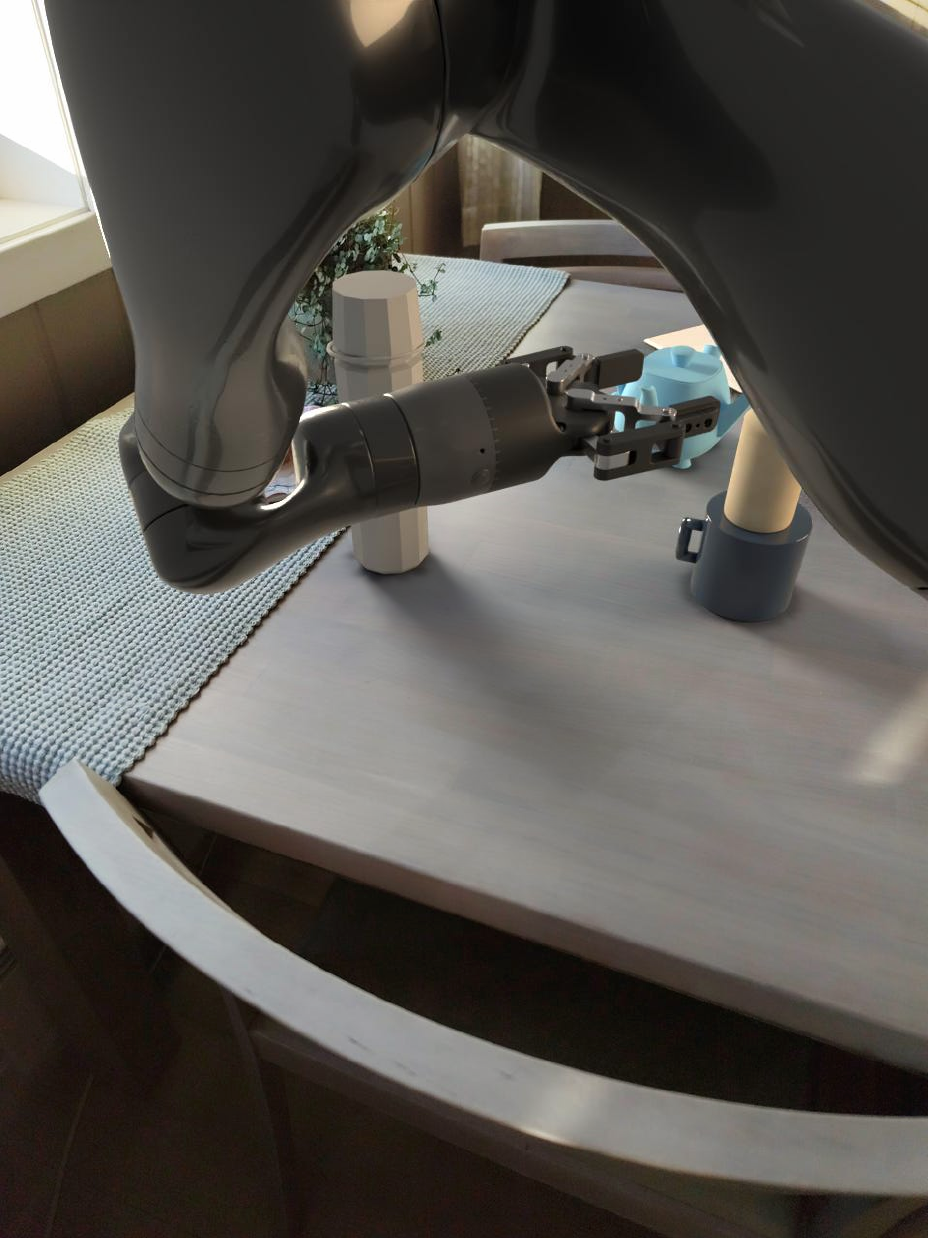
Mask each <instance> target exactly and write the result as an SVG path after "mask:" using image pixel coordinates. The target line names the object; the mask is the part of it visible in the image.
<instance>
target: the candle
mask: <svg viewBox="0 0 928 1238" xmlns="http://www.w3.org/2000/svg"><path fill="white" fill-rule="evenodd" d="M742 420H743V421H742V425H741V430H740V434H739V439H738V444H737V447H736V450H735V451H736V452H735V456H734V460H733V465H732V470H731V473H730V479H729V484H728V487H727V490H728V492H727V496H726V501H725V506H724V513H725V515H726V517H727V518H728V520H730V521H731V522H732V523H733V524H735V525H736V526H738V527H741V528H743V529H746V530H749V531H754V532H761V533H771V532H778V531H781V530H783V529H785V528H787V527H788V526H789V525H790V523H791V521H792V519H793V516H794V512H795V509H796V506H797V502H798V503H799V498H800V494H801V491H802V487H801V486H800V485H799V483H798V482H797V480H796V479H795V477H794V476H793V474H792V473H791V471H790V470H789V468H788V466H787V465H786V463H785V462H784V460H783V458H782V457H781V455H780V453H779V452H778V450H777V449H776V447H775V445H774V444H773V442H772V441H771V439H770V437H769V436H768V434H767V433H766V431H765V430H764V428H763V426H762V425H761V423H760V421H759V419H758V418H757V416H756V414H755V413H754V411H753V409H752V408H749V409H748V410H747V411H746V412H745V413H744V415H743V419H742Z"/></svg>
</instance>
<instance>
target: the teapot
mask: <svg viewBox="0 0 928 1238" xmlns="http://www.w3.org/2000/svg"><path fill="white" fill-rule="evenodd" d="M720 356H721V353H720V351H719V349H718V348H717V347H716V346H713V345H705V347H704V349H703V351H702V352H698V351H696V350H695V349H694V348H691V347H689V346H675V347H666V348H662V349H659V350H654V351H652V352H650V353H649V354H648V355H646V356H644V364H643V371H642V376H641V378H640V379H639V380H638V381H636V382H632V383H627V384H623V385H619V386H616V390H617V391H614V392H612V393H611V394H610V395H616V396H629V397H635V398H637V399H638V401H639V403H640V404H641V405H648V406H660V407H668V406H669V405H673V404H677V403H681V402H685V401H689V400H693V399H697V398H701V397H705V396H710V395H711V396H713V397H715V398H717V399H718V400H720V402H721V407H720V412H719V417H718V422H717V425H716V427H715V429H714V430H712V431H711V432H708V433H703V434H701V435H697V436H693V437H689V438H685V439H684V441H683V447H682V453H681V459H680V463H679V464H677V465H673V466H672V467H674V468H676V469H688V468H690V467H691V466H692V461H691V460H692V459H694V458H698V457H700V456H701V455H704V454H705V453H707V452H708V451H710V450H711V449H712V448H713V447H714V446H716V444H717V443H718V442H719V441H720V440H721V439H722V438H723V437H724V436H725V434H726V433H728V432H729V431H730V430H731V429H732V428H733V427H734V426H735V424H737V422H738V421H739V420H740V419H741V418H742V417H743V416H744V415H745V414H746V412H747V411H748V410H749V409H750V408H751V406H750V404H749V402H748V401H747V399H746V397H745V395H744V394H743V393H742V394H739V396H738V397H737V398H736V399H735V400H733V401H731V390H730V389H729V384H728V380H727V376H726V372H725V368H724V366H723V363H722V361H721V360H720ZM731 402H732V403H731ZM624 422H625V417H624V415H623V414H622V413H621V412H617V411H616V413H615V421H614V430H618V431H619V432H622V431H623V430H624ZM655 422H656V421H644V420H640V421H638V422H637V423H636V427H635V429H636V428H641V427H645V426H650V425H655ZM658 451H660V450H652V453H654V452H658Z"/></svg>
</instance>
